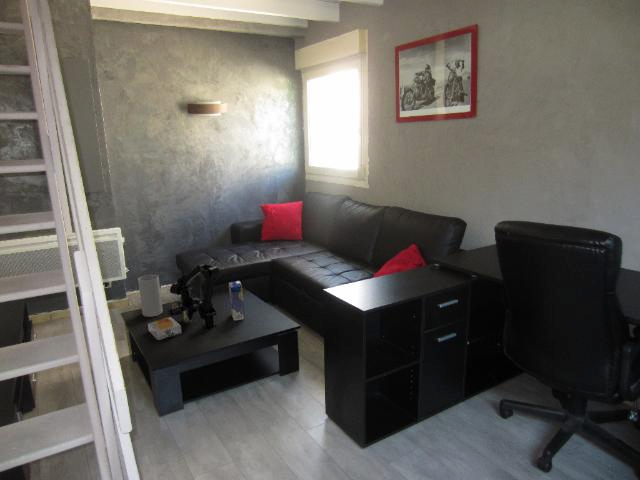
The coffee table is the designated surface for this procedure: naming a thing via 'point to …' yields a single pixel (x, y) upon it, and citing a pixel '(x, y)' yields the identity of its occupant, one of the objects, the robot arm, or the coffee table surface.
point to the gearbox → (164, 328)
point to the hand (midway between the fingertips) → (188, 319)
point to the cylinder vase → (150, 295)
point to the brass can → (186, 317)
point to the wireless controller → (177, 310)
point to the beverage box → (236, 300)
